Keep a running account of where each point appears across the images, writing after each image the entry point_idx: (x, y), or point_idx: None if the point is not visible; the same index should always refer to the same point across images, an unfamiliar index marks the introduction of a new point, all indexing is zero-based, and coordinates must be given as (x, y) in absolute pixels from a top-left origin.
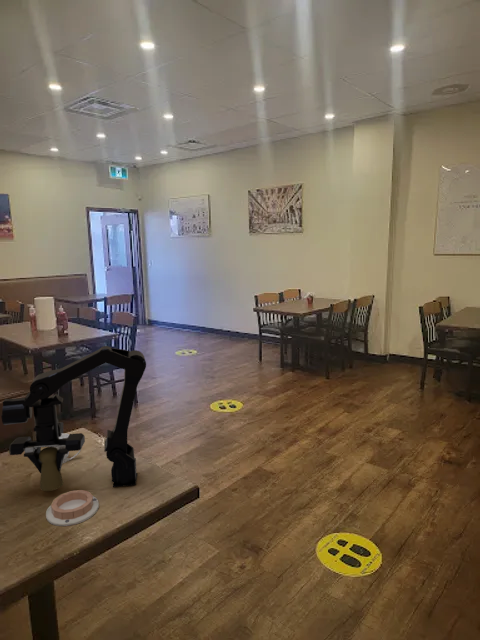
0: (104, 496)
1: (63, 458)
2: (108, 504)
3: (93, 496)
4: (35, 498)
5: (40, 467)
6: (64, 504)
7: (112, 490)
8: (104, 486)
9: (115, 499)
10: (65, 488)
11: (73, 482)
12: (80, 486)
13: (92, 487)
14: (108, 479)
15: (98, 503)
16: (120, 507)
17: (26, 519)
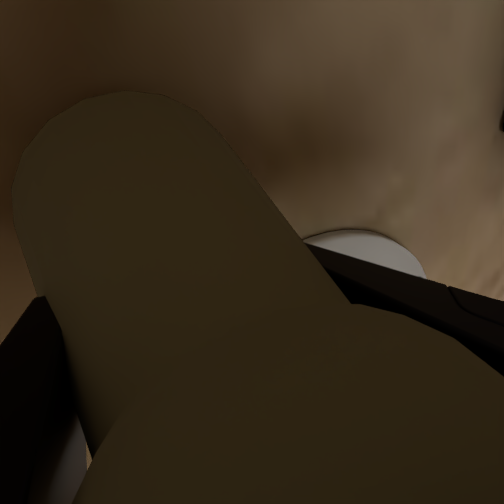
0: (447, 221)
1: (450, 296)
2: (452, 281)
3: (412, 258)
4: (11, 276)
5: (82, 439)
6: None
7: (489, 161)
8: (462, 112)
9: (482, 242)
10: (218, 123)
11: (263, 16)
12: (326, 99)
13: (400, 120)
14: (498, 9)
15: None
16: (485, 294)
17: (91, 457)
